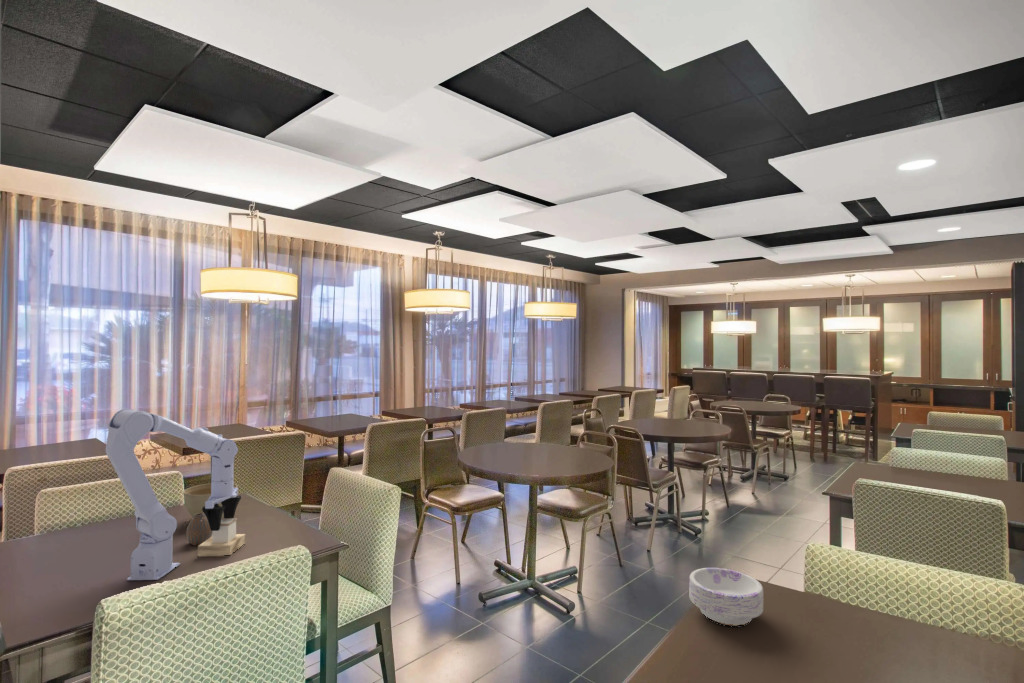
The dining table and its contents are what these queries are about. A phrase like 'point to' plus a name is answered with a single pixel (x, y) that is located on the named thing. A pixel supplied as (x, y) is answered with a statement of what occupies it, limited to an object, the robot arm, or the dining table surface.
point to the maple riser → (220, 546)
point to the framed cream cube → (225, 531)
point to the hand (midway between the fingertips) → (222, 525)
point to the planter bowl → (198, 498)
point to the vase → (198, 529)
